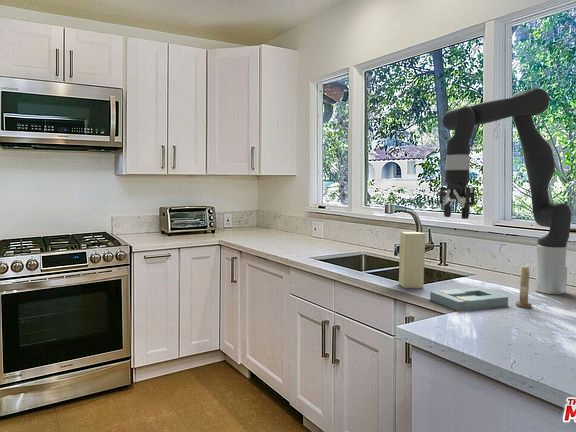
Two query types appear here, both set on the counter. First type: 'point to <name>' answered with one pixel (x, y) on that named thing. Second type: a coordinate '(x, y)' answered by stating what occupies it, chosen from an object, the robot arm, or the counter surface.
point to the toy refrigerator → (411, 259)
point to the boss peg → (524, 288)
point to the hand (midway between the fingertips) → (455, 217)
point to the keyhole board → (468, 298)
